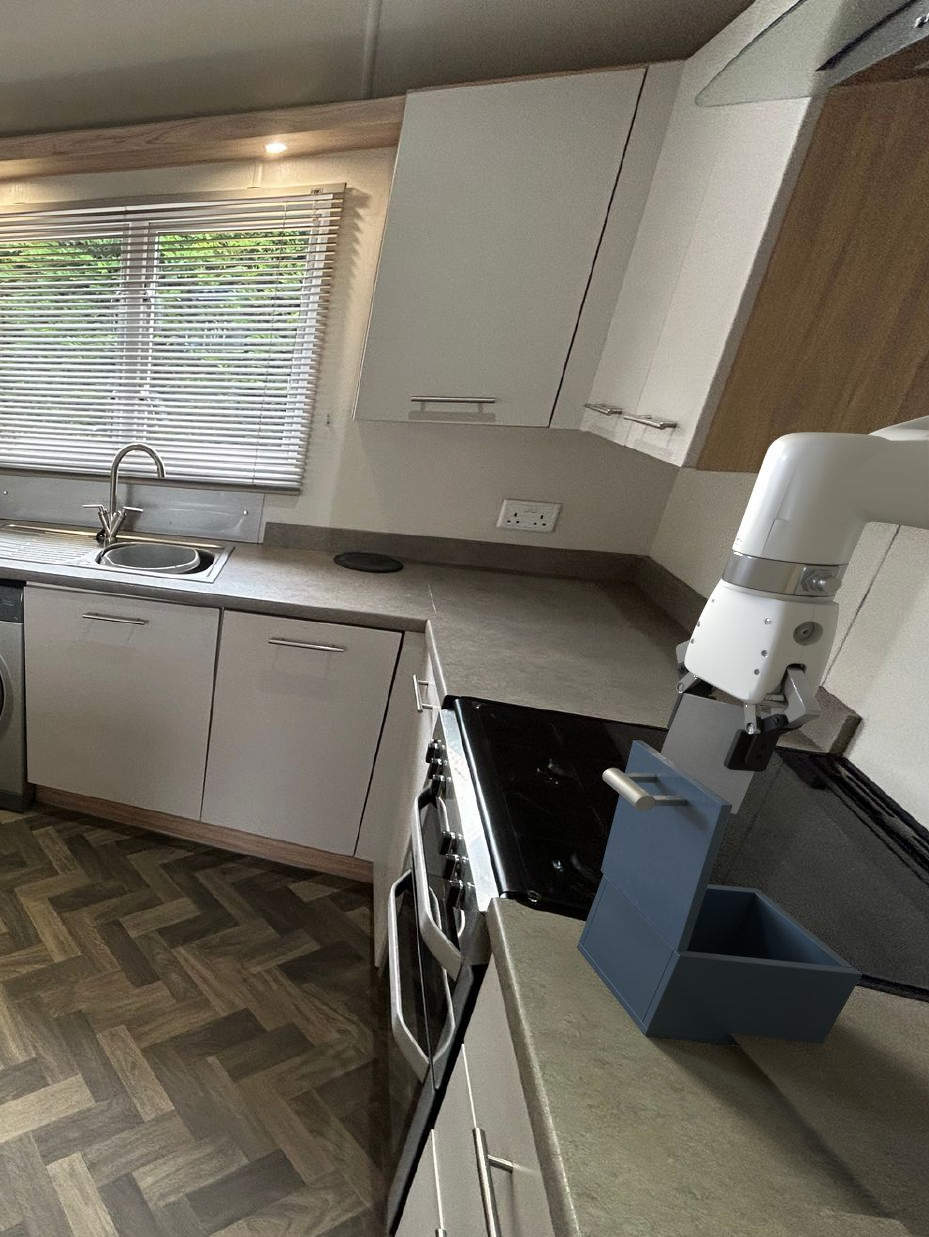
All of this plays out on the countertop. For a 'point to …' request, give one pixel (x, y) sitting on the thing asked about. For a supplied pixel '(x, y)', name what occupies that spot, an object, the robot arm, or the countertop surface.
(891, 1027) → the countertop surface
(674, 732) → the grey rectangular block
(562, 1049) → the countertop surface
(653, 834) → the bin lid
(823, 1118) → the countertop surface
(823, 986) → the waste bin
